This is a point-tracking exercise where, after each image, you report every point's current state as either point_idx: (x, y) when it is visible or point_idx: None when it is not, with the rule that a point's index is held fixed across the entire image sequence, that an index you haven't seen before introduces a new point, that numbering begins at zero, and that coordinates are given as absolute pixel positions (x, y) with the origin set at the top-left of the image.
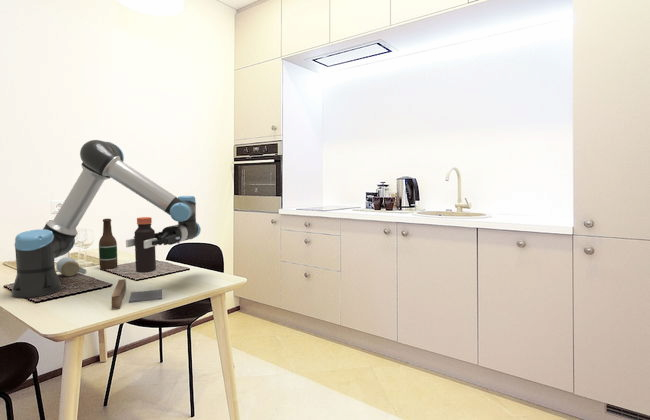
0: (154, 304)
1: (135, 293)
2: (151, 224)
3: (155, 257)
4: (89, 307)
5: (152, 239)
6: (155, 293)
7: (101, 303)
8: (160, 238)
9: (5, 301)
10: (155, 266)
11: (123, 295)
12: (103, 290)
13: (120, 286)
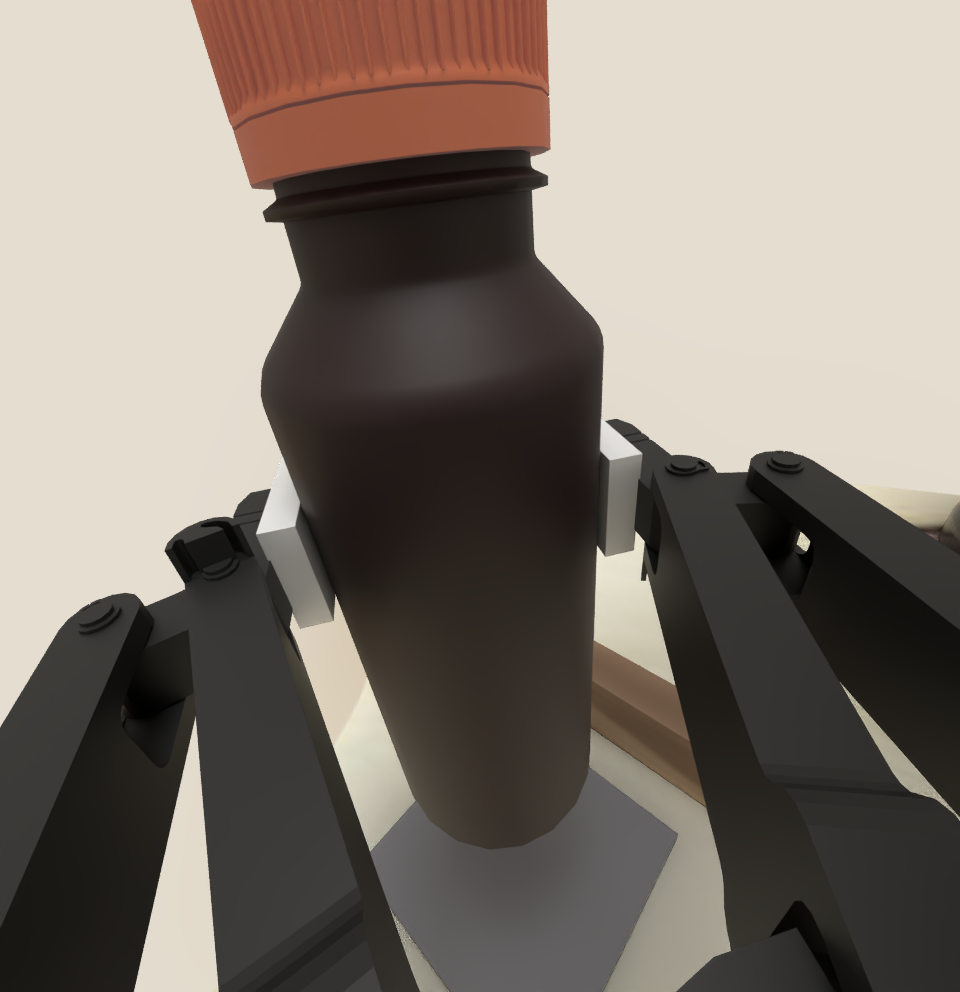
0: (348, 764)
1: (617, 827)
2: (276, 217)
3: (402, 747)
4: (595, 593)
5: (277, 471)
6: (484, 925)
7: (611, 638)
8: (193, 564)
9: (923, 491)
10: (412, 788)
11: (622, 740)
12: (925, 779)
13: (623, 684)
